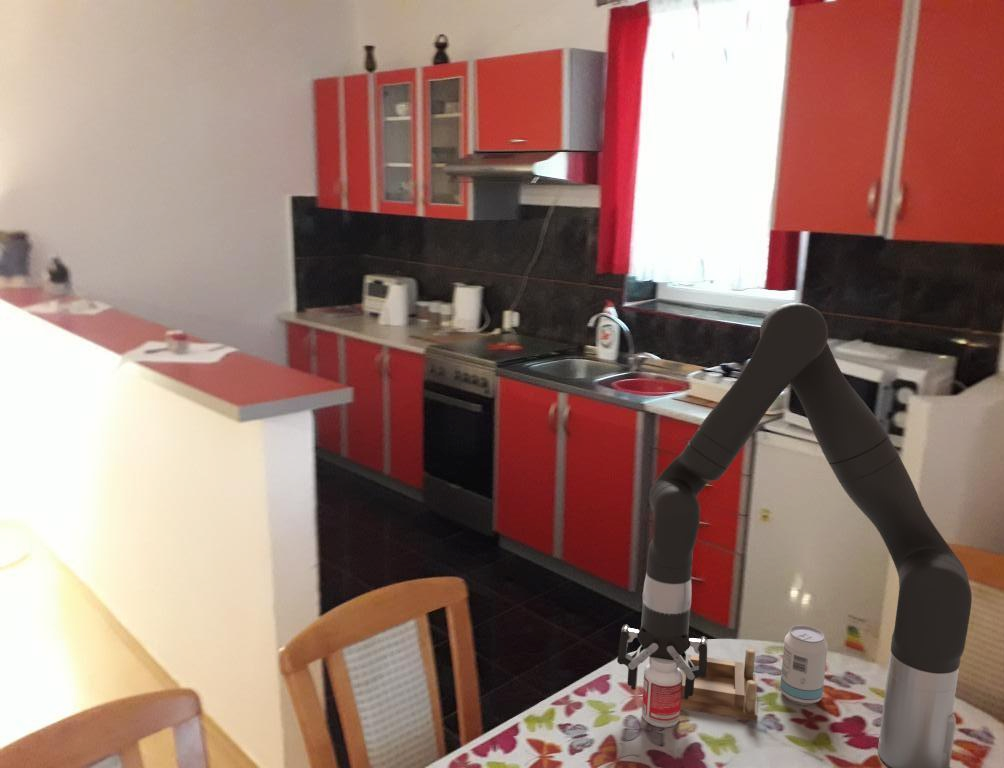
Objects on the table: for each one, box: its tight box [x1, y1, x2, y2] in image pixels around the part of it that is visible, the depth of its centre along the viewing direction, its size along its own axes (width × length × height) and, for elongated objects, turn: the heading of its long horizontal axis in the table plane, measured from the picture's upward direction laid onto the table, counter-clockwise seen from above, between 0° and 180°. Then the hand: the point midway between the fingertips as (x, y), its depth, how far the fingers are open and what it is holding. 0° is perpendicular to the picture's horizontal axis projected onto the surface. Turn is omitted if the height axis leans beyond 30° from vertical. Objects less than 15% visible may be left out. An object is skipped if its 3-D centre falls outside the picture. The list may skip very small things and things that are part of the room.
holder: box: [678, 648, 758, 722], centre depth 143 cm, size 15×13×6 cm
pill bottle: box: [641, 657, 682, 728], centre depth 135 cm, size 6×6×11 cm
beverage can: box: [779, 625, 829, 706], centre depth 142 cm, size 7×7×12 cm
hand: (659, 691), depth 136 cm, fingers open, 8 cm apart
